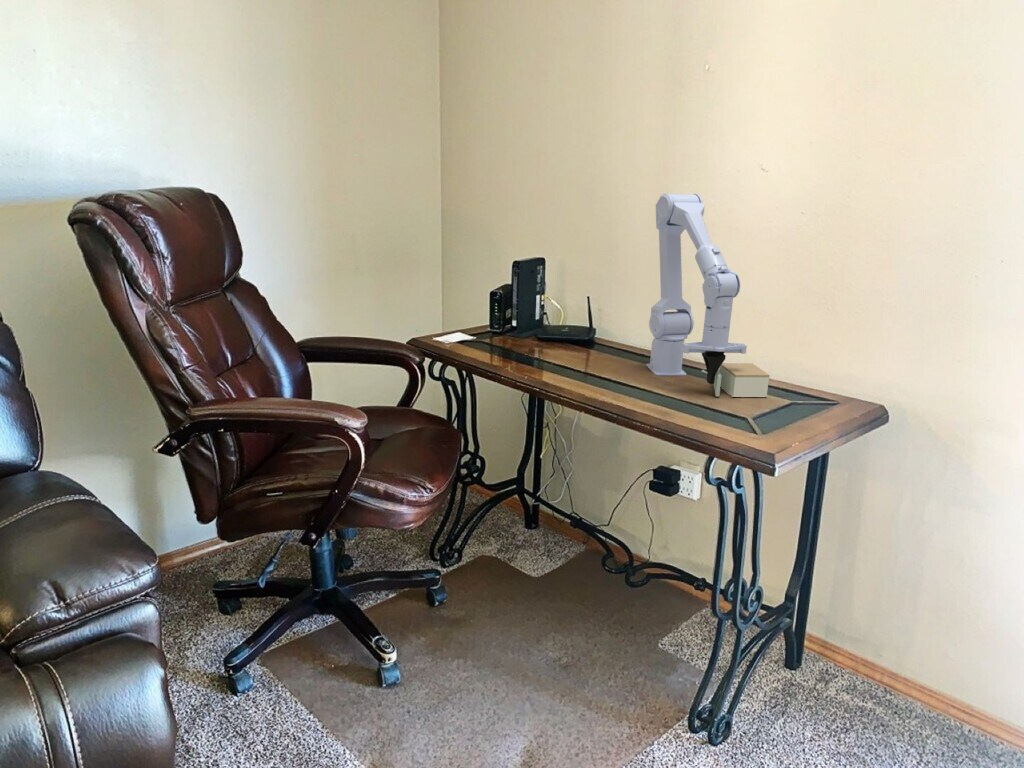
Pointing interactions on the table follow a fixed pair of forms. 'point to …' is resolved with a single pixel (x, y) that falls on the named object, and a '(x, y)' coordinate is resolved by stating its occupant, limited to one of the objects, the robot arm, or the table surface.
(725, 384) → the cabinet
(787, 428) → the table surface
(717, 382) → the door
